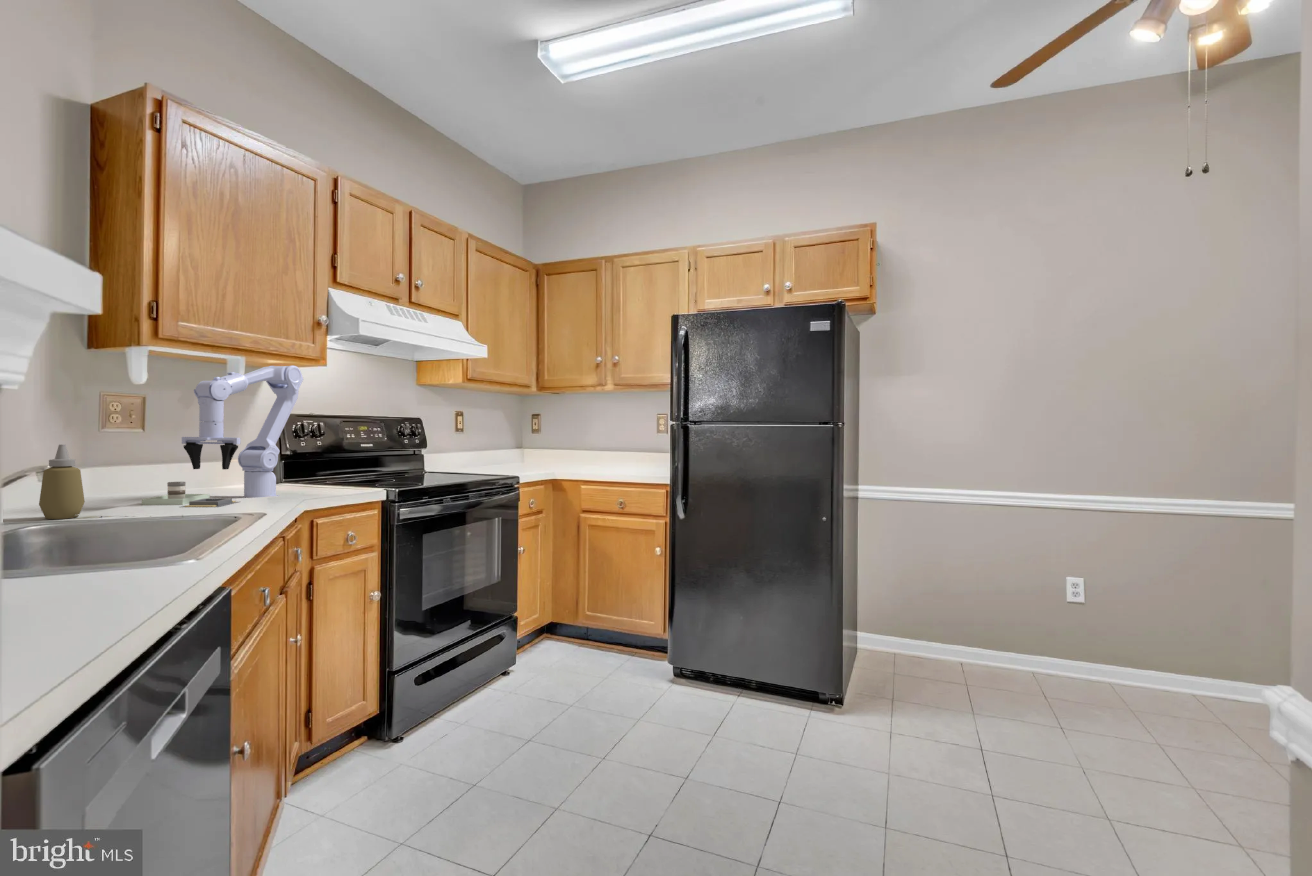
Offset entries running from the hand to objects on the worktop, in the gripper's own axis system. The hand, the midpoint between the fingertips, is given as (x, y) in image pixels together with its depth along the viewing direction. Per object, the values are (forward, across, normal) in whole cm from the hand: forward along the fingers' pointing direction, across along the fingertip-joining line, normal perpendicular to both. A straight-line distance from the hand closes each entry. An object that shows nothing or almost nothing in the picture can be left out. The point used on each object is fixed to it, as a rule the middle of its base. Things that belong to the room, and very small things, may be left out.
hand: (211, 469), depth 177 cm
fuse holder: (+10, +3, -6) cm, 12 cm away
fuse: (+10, -9, 0) cm, 13 cm away
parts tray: (+10, -9, 0) cm, 14 cm away
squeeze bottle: (+11, -21, -24) cm, 33 cm away
